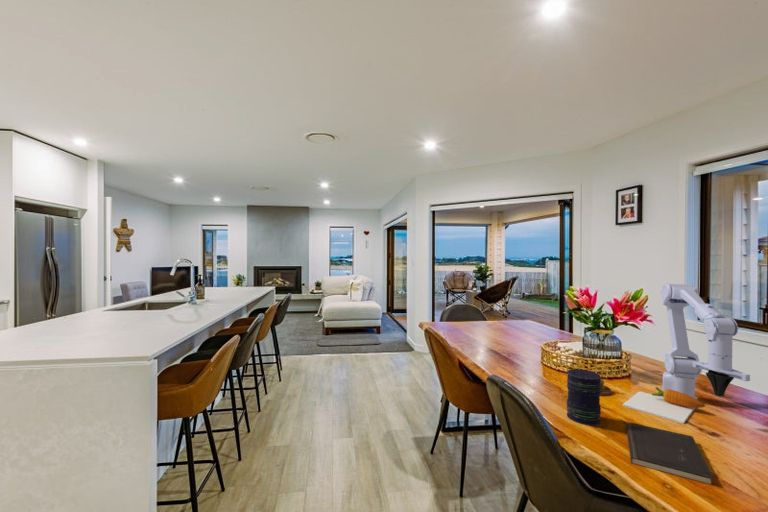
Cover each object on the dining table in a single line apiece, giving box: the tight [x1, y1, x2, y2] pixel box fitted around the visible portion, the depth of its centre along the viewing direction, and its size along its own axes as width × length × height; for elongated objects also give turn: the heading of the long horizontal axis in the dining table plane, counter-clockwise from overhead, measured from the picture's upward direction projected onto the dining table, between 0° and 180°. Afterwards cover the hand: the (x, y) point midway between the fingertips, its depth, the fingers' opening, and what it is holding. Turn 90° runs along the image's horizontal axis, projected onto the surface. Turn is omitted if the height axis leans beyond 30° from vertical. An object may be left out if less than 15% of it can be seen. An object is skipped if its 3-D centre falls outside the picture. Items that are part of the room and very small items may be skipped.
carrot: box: [650, 386, 706, 409], centre depth 126 cm, size 5×5×15 cm
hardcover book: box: [625, 421, 714, 485], centre depth 96 cm, size 16×23×2 cm
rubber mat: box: [622, 391, 696, 425], centre depth 126 cm, size 17×20×1 cm
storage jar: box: [566, 362, 602, 426], centre depth 116 cm, size 10×10×18 cm
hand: (719, 395), depth 114 cm, fingers closed
